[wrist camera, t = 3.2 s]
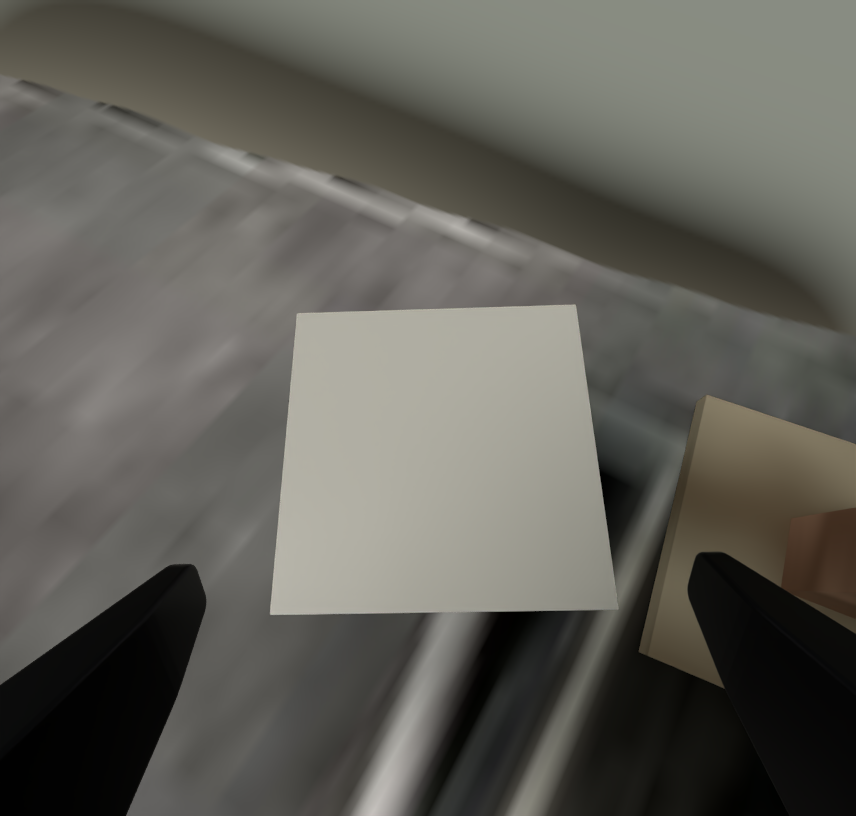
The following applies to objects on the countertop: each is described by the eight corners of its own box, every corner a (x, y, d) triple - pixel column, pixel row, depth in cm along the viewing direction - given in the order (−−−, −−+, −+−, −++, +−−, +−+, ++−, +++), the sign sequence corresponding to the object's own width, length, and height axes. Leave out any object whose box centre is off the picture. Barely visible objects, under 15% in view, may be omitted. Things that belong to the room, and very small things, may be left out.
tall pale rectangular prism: (517, 590, 17) (618, 609, 7) (370, 592, 17) (269, 614, 7) (506, 447, 19) (575, 305, 9) (373, 450, 19) (297, 313, 9)
